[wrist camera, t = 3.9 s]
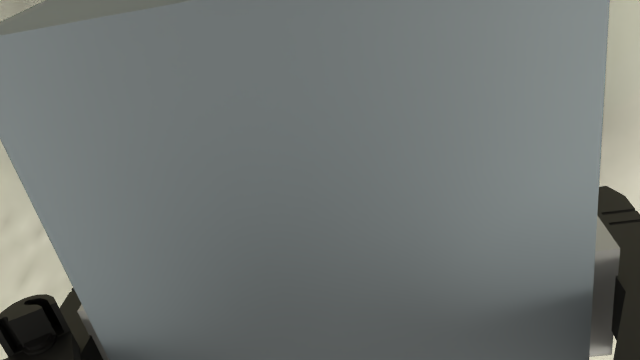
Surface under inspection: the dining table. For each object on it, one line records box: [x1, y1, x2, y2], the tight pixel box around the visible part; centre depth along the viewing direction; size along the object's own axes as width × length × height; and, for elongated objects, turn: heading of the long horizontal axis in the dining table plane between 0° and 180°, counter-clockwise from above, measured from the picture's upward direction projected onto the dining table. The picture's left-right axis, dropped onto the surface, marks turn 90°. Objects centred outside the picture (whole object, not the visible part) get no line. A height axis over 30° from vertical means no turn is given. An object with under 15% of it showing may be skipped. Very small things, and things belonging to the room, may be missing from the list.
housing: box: [0, 0, 610, 360], centre depth 15 cm, size 14×9×8 cm, turn 10°
